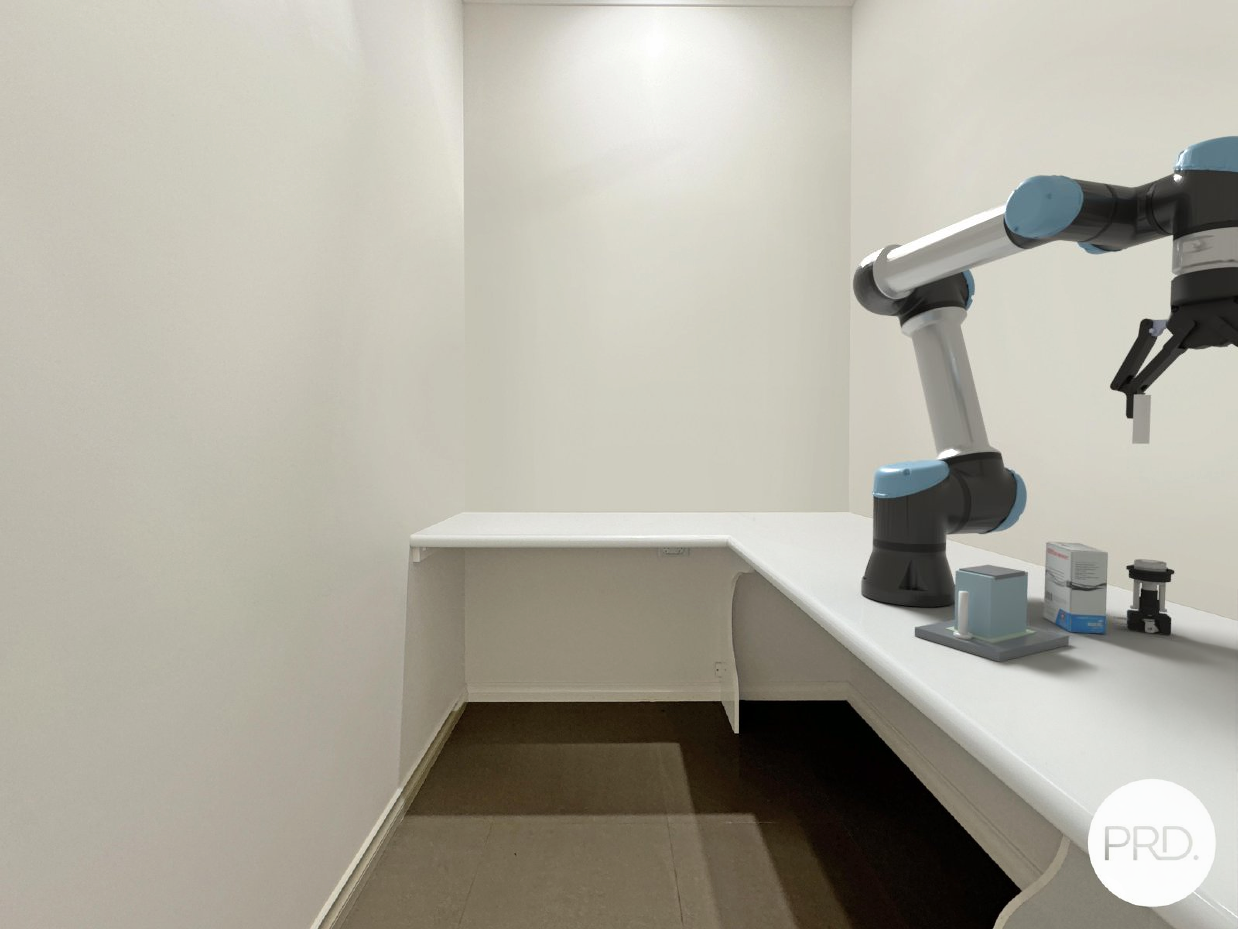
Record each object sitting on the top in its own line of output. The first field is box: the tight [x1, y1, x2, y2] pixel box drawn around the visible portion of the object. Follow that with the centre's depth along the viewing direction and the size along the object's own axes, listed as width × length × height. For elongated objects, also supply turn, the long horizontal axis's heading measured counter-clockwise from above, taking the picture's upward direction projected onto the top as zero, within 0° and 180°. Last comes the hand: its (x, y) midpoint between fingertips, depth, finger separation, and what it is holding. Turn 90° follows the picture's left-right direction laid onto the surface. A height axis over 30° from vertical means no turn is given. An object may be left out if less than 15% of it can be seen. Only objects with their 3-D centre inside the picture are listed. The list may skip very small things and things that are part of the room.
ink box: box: [1043, 541, 1109, 635], centre depth 97 cm, size 8×5×12 cm, turn 168°
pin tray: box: [914, 591, 1070, 663], centre depth 89 cm, size 12×15×7 cm
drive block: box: [953, 564, 1029, 639], centre depth 89 cm, size 5×8×8 cm, turn 118°
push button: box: [1112, 558, 1175, 636], centre depth 94 cm, size 7×5×10 cm
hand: (1204, 444), depth 82 cm, fingers open, 13 cm apart
